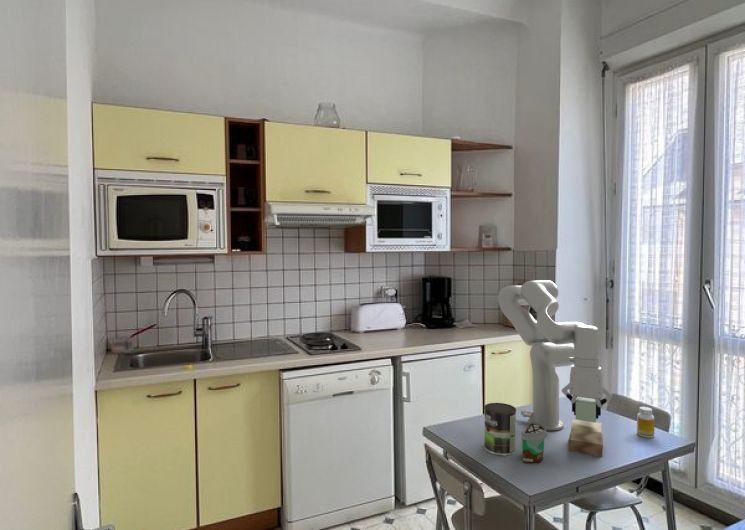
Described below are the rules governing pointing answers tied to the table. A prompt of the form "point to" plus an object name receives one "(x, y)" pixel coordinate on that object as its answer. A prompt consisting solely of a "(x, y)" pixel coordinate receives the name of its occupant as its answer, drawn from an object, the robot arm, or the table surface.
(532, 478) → the table surface
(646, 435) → the supplement bottle
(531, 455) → the food container
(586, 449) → the walnut block
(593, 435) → the maple block
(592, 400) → the sage block
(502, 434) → the coffee can
